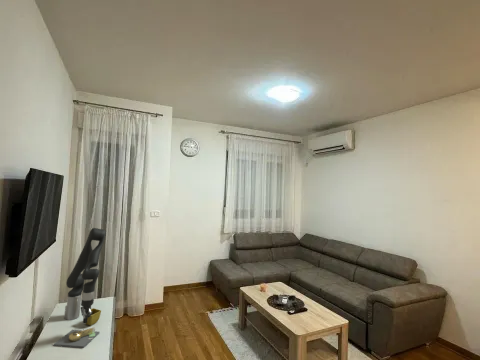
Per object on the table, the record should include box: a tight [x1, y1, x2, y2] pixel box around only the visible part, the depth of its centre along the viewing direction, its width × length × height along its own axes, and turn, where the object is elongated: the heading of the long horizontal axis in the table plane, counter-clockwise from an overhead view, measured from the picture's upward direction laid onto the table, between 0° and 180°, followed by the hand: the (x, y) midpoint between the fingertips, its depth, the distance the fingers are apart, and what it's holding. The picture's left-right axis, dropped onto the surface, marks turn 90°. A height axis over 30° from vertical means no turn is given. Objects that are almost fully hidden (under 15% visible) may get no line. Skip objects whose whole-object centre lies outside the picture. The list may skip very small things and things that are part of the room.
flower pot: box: [85, 307, 102, 326], centre depth 186 cm, size 9×9×9 cm
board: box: [53, 329, 100, 349], centre depth 166 cm, size 21×18×2 cm
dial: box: [69, 327, 96, 342], centre depth 167 cm, size 15×7×4 cm, turn 135°
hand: (85, 322), depth 171 cm, fingers closed
